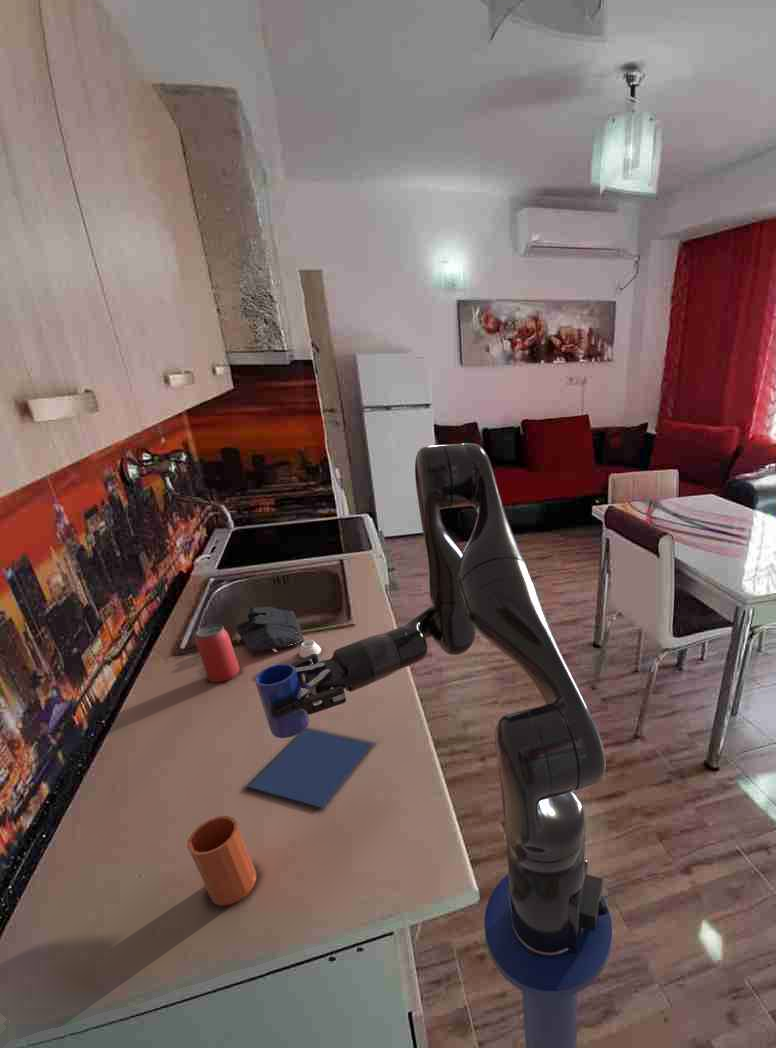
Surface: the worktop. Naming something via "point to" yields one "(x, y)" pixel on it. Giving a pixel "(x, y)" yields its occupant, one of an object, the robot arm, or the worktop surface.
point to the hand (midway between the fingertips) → (265, 701)
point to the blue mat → (311, 767)
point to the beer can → (217, 653)
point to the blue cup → (277, 687)
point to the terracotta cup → (222, 860)
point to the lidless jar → (309, 648)
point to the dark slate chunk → (269, 629)
